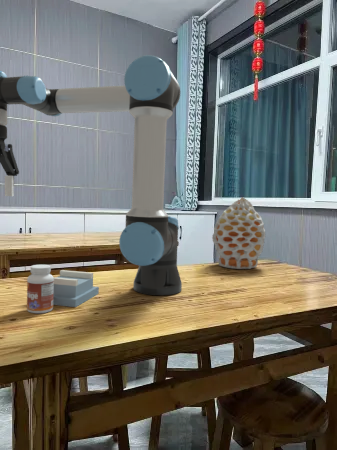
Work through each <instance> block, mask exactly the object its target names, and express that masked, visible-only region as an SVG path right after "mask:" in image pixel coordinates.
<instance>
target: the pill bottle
mask: <svg viewBox="0 0 337 450" xmlns="http://www.w3.org/2000/svg"><path fill="white" fill-rule="evenodd" d="M29 270H30V273H31V274H29V276H27V280H26V293H27V294H26V310H27V312H29V313H31V314H46V313H49V312H51V311H53V309H54V305H53V289H54V288H53V287H54V278H53V277H54V276H53V275H52V274H51V270H52V269H51V265H49V264H33V265H31V266H30V269H29Z"/></svg>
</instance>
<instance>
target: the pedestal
mask: <svg viewBox="0 0 337 450" xmlns="http://www.w3.org/2000/svg"><path fill="white" fill-rule="evenodd" d="M53 278H54V287H53V288H54V289H53V306H62V307H71V308H72V307H73V308H77V307H79V306H80V305H82V304H83V303H85V302H87V301H89V300H90V299H92V298H94V297H96V296H97V295H98V294H100V292H99V291H100V289H99V286H94V272H91V271H90V272H88V271H87V272H86V271H76V270H66V269H65V270H64V269H62V270H59V275H58V276H56V277H54V276H53Z"/></svg>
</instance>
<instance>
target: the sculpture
mask: <svg viewBox="0 0 337 450" xmlns="http://www.w3.org/2000/svg"><path fill="white" fill-rule="evenodd" d="M264 225H265V223H264V220H263V219H262V216H261V215H260V214H259V212H257V211H256V210H255V207H254V205H253V204H252V202H251V201H249V200H248V199H247V198H245V197H241V198H239V199H237V200H236V201H234V202H233V203H232V204H230V205H229V206H228V207H227V208H226V209H225V210H224V211H223V212H222V214H221V215H220V216H219V217H218V219H217V221H216V223H215V225H214V227H213V233H212V237H211V238H212V243H213V244H214V248H215V250H216V252H217V254H218V255H219V258H218V266H220V267H223V268H228V269H233V270H234V269H236V270H244V269H245V270H251V269H253V268H257V266H258V262H259V258H260V256H261V254H262V253H263V251H264V244H265V238H266V229H265V228H264Z"/></svg>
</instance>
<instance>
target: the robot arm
mask: <svg viewBox="0 0 337 450" xmlns="http://www.w3.org/2000/svg"><path fill="white" fill-rule="evenodd" d="M123 80H124V82H123V83H124V85H111V86H110V85H109V86H90V87H89V86H87V87H72V88H71V87H70V88H52V89H51V88H50V89H49V88H47V87H46V84H45V83H44V82H43V80H42V78H40V77H39V76H36V75H34V76H33V75H24V76H22V75H21V76H9V77H8V75H7V74H6V72H4V71H2V70H0V165H1V167H2V169H3V170H4V173H5V175H4V196H5V197H14V196H15V195H14V192H15V191H14V188H15V187H14V186H15V176H18V175H19V174H20V171H19V167H18V164H17V161H16V157H15V155H14V151H13V145H12V144H11V143H5V140H7V139H8V127H7V125H8V105H22V106H26V107H29V108H30V109H33V110H35V111H38V112H40V113H42V114H44V115H46V116H51V117H58V116H61V115H62V114H82V113H83V114H85V113H113V112H114V113H117V112H121V113H122V112H128V113H129V114H130V115H131V116H132V117H133V119H134V127H133V128H134V130H133V131H134V132H133V157H132V158H133V159H132V192H131V193H132V194H131V207H130V209H129V211H127V212H126V214H125V226H124V227H125V228H124V229H123V230H122V231H121V233H120V236H119V244H118V245H119V249H120V252H121V254H122V256H123V257H124V258H125V260H127V261H128V262H129V263H131V264H133V265H136V266H138V268H137V271H136V274H135V277H134V279H133V291H134V292H137V293H139V294H143V295H151V296H169V295H175V294H179V293H181V291H182V290H183V289H182V285H183V283H182V280H181V279H182V278H181V276H180V273H179V269H178V243H179V242H178V241H179V239H178V237H179V228H180V227H179V220H178V219H177V217H174V216H170V215H168V213H167V212H166V211H165V210H164V200H165V199H164V198H165V197H164V196H165V195H164V194H165V173H166V172H165V171H166V170H165V169H166V150H167V149H166V145H167V122H168V119H170V118H171V117H172V116H173V110H174V109H175V108H176V107H177V105H178V103H179V102H180V97H181V86H180V84H179V82H178V80H177V78H176V77H175V76H174V74H173V72H172V70H171V69H170V67H169V65H168V64H167V63H166V61H164V60H162V59H161V58H160V57H158V56H156V55H150V54H146V55H142V56H140V57H139V56H138V57H137V58H136V59H134V60H133V61H132V62H131V63H130V64H129V65H128V66H127V68H126V71H125V74H124V79H123Z"/></svg>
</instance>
